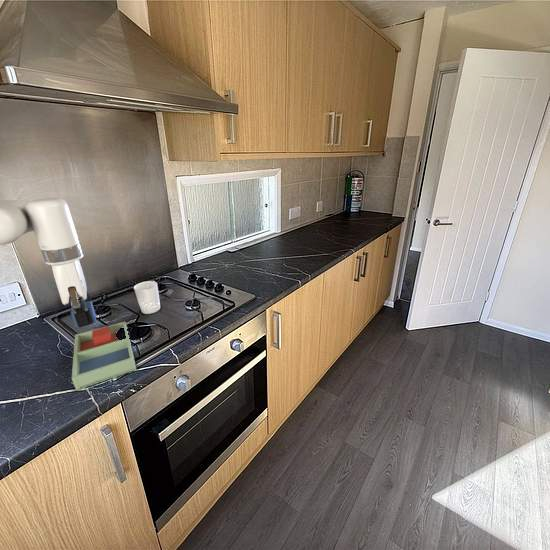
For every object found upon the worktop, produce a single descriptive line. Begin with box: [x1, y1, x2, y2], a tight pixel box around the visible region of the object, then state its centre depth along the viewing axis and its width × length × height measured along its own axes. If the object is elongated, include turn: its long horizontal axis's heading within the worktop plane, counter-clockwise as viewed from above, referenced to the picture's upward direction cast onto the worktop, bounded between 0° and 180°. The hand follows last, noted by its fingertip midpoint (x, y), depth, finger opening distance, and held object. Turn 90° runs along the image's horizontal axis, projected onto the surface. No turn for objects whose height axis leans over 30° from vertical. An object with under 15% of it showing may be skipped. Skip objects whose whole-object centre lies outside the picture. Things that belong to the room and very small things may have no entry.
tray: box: [71, 321, 137, 391], centre depth 84 cm, size 14×22×4 cm, turn 30°
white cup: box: [133, 280, 161, 315], centre depth 108 cm, size 8×8×10 cm
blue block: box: [70, 300, 97, 328], centre depth 74 cm, size 4×4×4 cm
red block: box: [92, 325, 113, 347], centre depth 88 cm, size 4×4×4 cm
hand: (85, 319), depth 75 cm, fingers closed on blue block, 4 cm apart
